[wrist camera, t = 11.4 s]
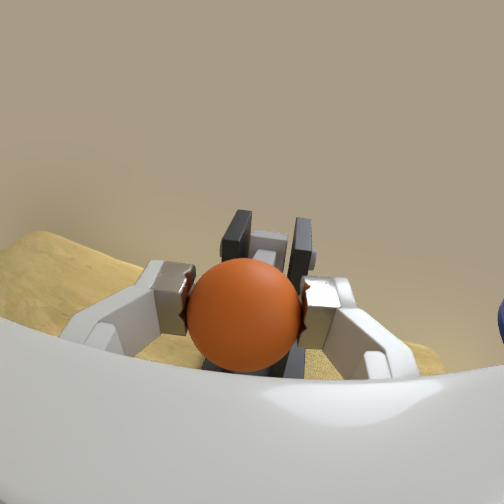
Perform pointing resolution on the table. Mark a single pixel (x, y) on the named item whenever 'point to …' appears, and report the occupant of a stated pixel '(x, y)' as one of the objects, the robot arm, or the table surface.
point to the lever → (246, 308)
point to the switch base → (300, 263)
